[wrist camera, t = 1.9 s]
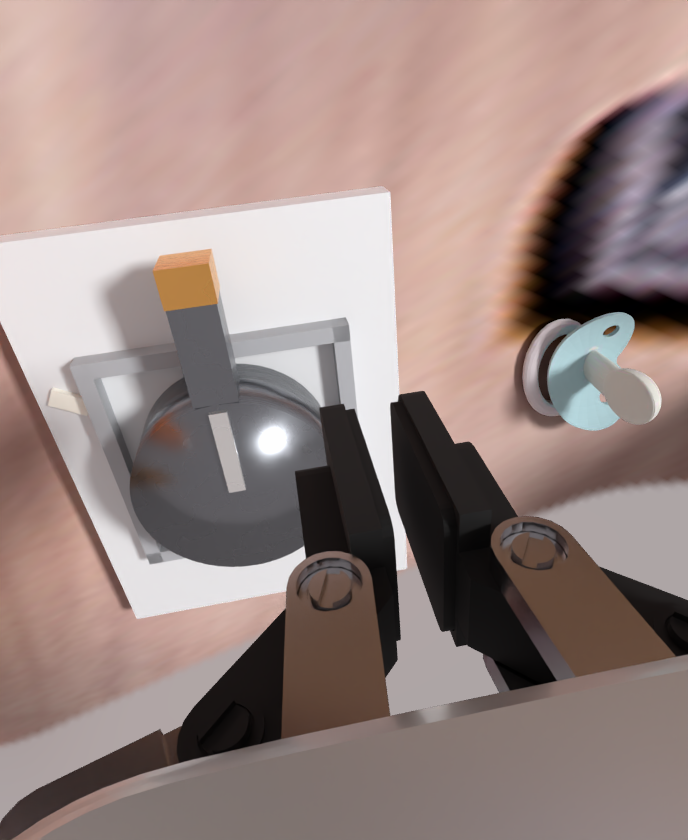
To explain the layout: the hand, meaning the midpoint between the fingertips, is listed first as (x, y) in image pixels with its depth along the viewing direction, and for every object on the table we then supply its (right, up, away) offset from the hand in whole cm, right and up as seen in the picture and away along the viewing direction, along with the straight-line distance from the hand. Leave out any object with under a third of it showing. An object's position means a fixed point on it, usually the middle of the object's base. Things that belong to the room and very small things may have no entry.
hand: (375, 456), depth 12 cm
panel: (-7, 0, +19) cm, 20 cm away
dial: (-7, +2, +16) cm, 18 cm away
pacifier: (+12, +4, +20) cm, 24 cm away
